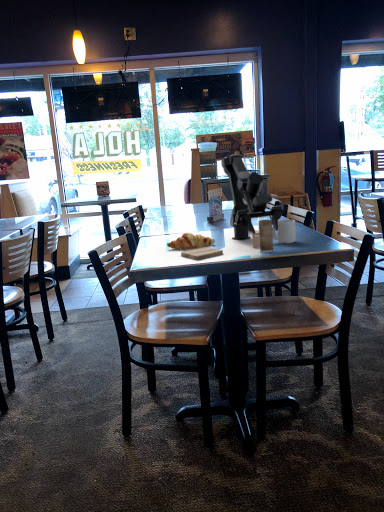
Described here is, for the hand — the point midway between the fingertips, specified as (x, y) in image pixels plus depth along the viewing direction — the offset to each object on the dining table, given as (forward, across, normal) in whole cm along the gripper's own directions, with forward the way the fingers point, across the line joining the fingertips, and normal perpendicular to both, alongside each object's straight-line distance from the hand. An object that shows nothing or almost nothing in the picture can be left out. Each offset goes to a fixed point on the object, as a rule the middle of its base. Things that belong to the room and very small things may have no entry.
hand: (265, 231), depth 158 cm
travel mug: (-31, +10, +42) cm, 53 cm away
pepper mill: (+5, 0, +6) cm, 8 cm away
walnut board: (-2, -24, +12) cm, 27 cm away
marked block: (-3, +2, +14) cm, 15 cm away
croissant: (-14, -24, +25) cm, 38 cm away
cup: (-3, +13, +14) cm, 19 cm away
